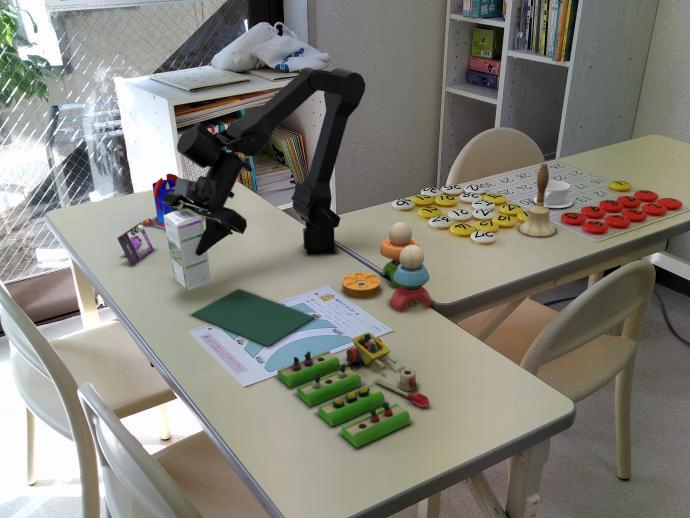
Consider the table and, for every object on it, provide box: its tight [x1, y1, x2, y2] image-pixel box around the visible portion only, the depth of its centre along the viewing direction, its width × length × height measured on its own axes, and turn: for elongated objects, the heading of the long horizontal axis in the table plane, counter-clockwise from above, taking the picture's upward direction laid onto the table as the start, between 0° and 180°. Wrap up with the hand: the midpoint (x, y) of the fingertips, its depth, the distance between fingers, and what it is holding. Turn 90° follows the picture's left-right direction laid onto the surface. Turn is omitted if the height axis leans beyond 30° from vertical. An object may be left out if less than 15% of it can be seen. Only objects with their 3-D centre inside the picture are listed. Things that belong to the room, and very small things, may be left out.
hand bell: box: [518, 163, 556, 238], centre depth 173 cm, size 8×8×16 cm
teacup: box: [532, 179, 574, 209], centre depth 191 cm, size 10×10×5 cm
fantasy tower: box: [142, 173, 180, 230], centre depth 182 cm, size 12×12×12 cm
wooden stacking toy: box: [341, 222, 432, 313], centre depth 147 cm, size 18×17×12 cm
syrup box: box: [164, 208, 212, 291], centre depth 146 cm, size 6×6×14 cm
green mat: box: [191, 288, 315, 348], centre depth 143 cm, size 20×13×1 cm, turn 53°
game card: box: [117, 222, 154, 267], centre depth 167 cm, size 7×5×9 cm
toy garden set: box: [277, 331, 430, 449], centre depth 121 cm, size 23×19×5 cm
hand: (185, 250), depth 146 cm, fingers closed on syrup box, 6 cm apart
